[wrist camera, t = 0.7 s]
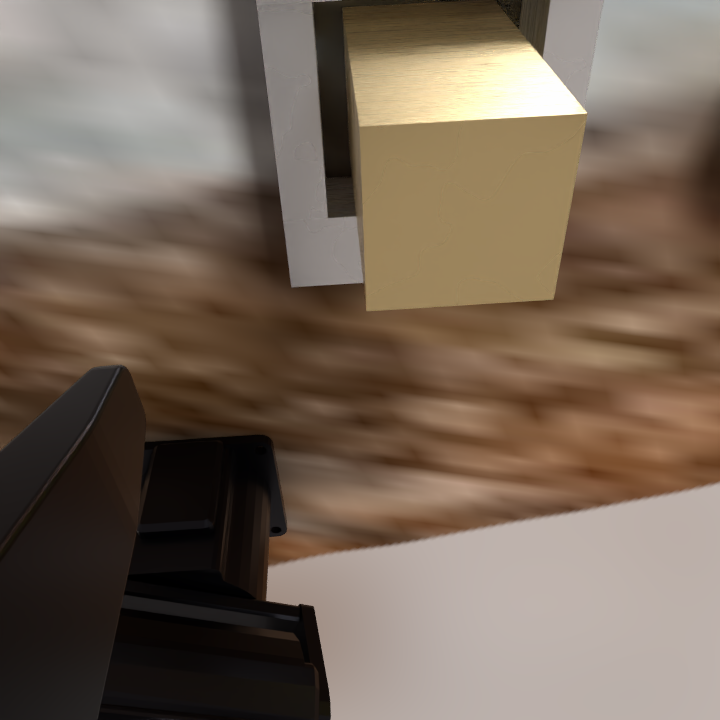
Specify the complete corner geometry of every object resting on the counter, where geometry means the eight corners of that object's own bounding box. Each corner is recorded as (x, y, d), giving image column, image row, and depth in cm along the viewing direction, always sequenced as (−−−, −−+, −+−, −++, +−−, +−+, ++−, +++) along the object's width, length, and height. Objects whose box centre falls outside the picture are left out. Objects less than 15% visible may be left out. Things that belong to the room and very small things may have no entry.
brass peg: (481, 144, 21) (553, 299, 15) (349, 152, 21) (366, 311, 14) (493, -2, 18) (587, 113, 12) (342, 7, 18) (359, 127, 12)
